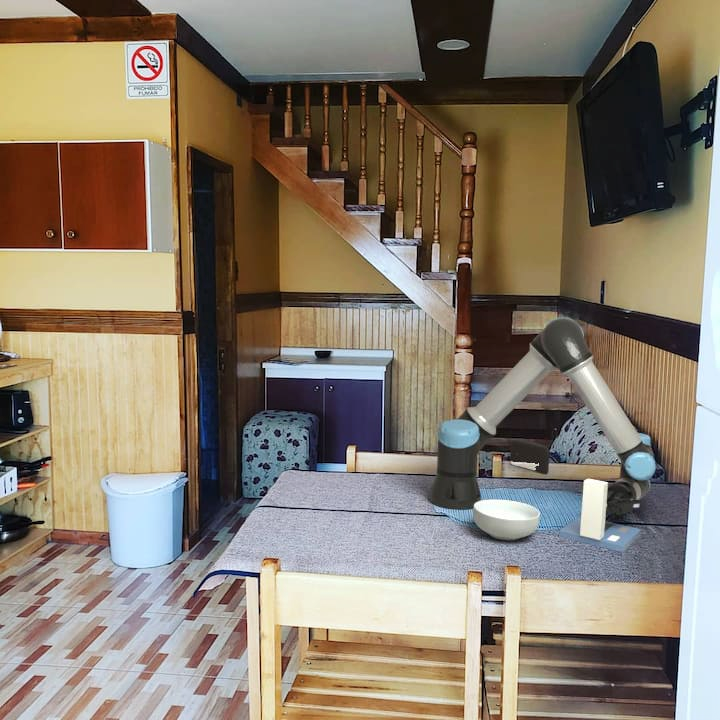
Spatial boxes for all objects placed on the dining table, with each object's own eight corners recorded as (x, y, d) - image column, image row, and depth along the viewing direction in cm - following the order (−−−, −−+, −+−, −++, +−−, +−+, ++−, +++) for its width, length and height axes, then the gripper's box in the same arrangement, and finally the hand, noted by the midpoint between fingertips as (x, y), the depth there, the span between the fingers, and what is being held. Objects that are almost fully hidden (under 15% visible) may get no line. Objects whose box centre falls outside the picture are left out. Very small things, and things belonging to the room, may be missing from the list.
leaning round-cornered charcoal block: (553, 473, 238) (555, 447, 237) (546, 475, 235) (547, 448, 234) (516, 463, 250) (517, 438, 249) (508, 464, 247) (509, 439, 246)
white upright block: (584, 532, 174) (587, 478, 172) (603, 536, 171) (607, 482, 169) (579, 535, 171) (583, 480, 170) (599, 540, 168) (604, 484, 167)
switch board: (580, 520, 188) (580, 515, 188) (640, 535, 178) (641, 529, 178) (558, 536, 175) (559, 530, 175) (622, 552, 166) (623, 546, 165)
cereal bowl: (548, 547, 167) (550, 519, 166) (481, 547, 165) (483, 519, 165) (525, 524, 184) (527, 498, 183) (465, 523, 182) (466, 497, 182)
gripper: (646, 512, 187) (621, 535, 168) (598, 502, 195) (569, 522, 176) (648, 485, 186) (623, 505, 167) (600, 476, 194) (571, 494, 175)
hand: (595, 514), depth 172 cm, fingers closed
